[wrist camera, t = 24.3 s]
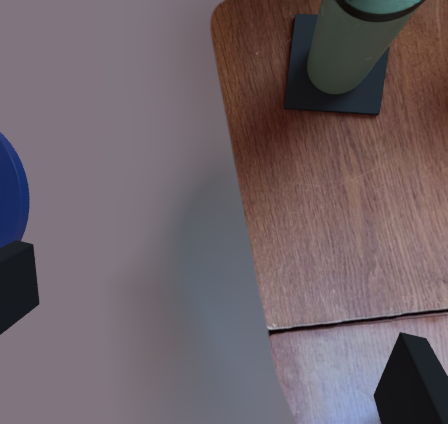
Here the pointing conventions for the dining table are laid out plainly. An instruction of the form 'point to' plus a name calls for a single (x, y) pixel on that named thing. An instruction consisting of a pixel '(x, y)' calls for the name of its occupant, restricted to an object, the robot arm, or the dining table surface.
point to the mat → (321, 101)
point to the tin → (353, 39)
